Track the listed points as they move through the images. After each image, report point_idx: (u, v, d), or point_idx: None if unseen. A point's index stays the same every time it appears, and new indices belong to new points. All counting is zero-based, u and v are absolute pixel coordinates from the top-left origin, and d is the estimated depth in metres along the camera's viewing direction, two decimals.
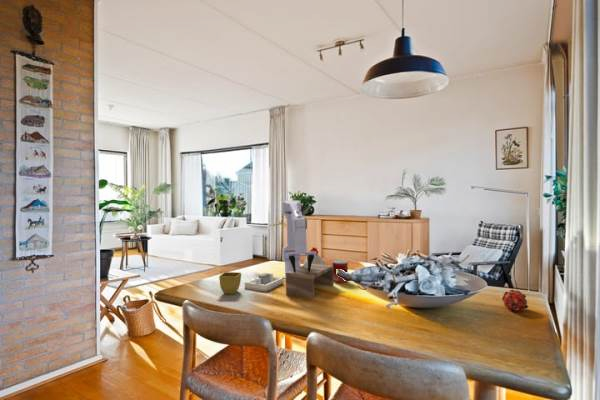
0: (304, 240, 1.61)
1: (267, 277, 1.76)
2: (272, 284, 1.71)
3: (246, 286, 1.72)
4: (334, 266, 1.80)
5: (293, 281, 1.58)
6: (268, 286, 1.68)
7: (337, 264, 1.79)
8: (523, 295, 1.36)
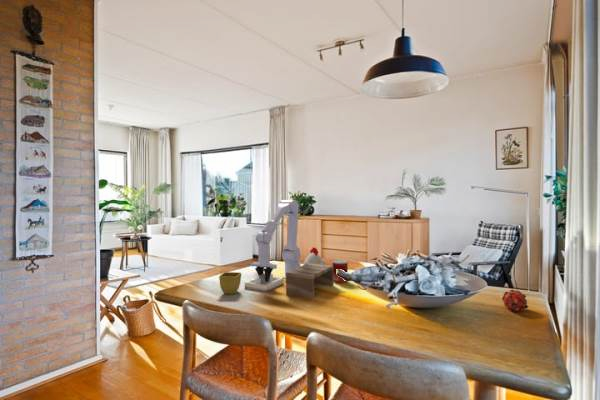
0: (262, 254, 1.73)
1: None
2: (272, 284, 1.71)
3: (246, 286, 1.72)
4: (334, 266, 1.80)
5: (293, 281, 1.58)
6: (268, 286, 1.68)
7: (337, 264, 1.79)
8: (523, 295, 1.36)
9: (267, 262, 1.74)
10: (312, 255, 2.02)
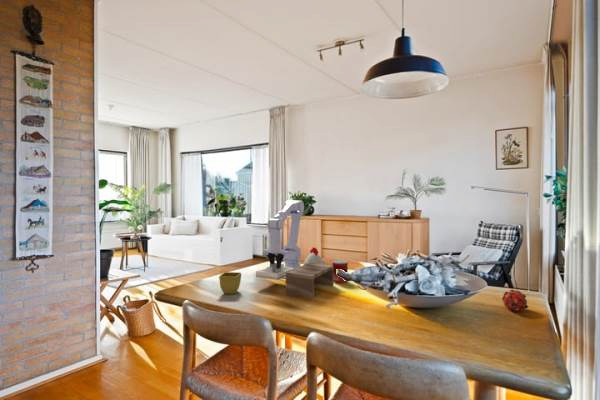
0: (275, 240, 1.72)
1: None
2: (283, 273, 1.70)
3: (257, 275, 1.71)
4: (334, 266, 1.80)
5: (293, 281, 1.58)
6: (279, 274, 1.67)
7: (337, 264, 1.79)
8: (523, 295, 1.36)
9: (278, 249, 1.73)
10: (312, 255, 2.02)
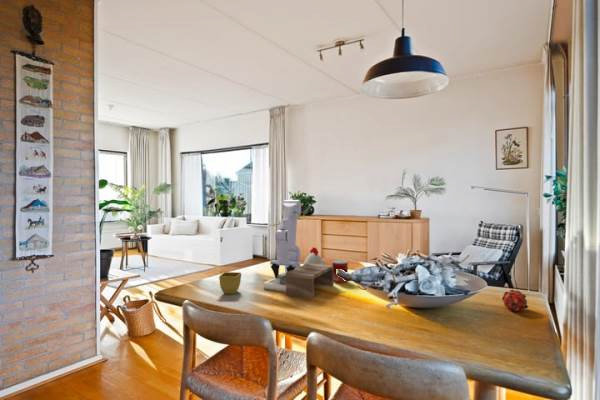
0: (284, 252, 1.72)
1: (285, 277, 1.75)
2: None
3: (265, 286, 1.71)
4: (334, 266, 1.80)
5: (293, 281, 1.58)
6: None
7: (337, 264, 1.79)
8: (523, 295, 1.36)
9: (286, 260, 1.73)
10: (312, 255, 2.02)
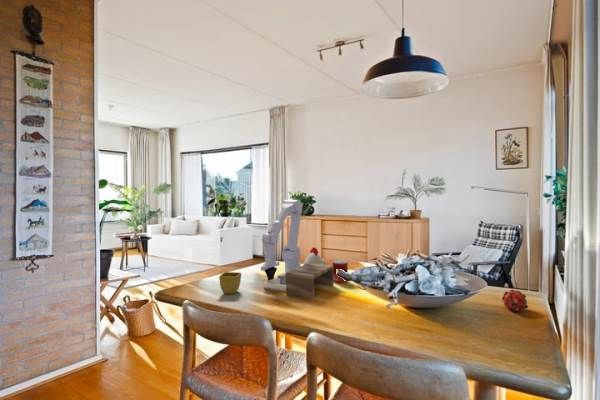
0: (269, 255, 1.76)
1: (285, 277, 1.75)
2: None
3: (265, 286, 1.71)
4: (334, 266, 1.80)
5: (293, 281, 1.58)
6: None
7: (337, 264, 1.79)
8: (523, 295, 1.36)
9: (266, 263, 1.77)
10: (312, 255, 2.02)
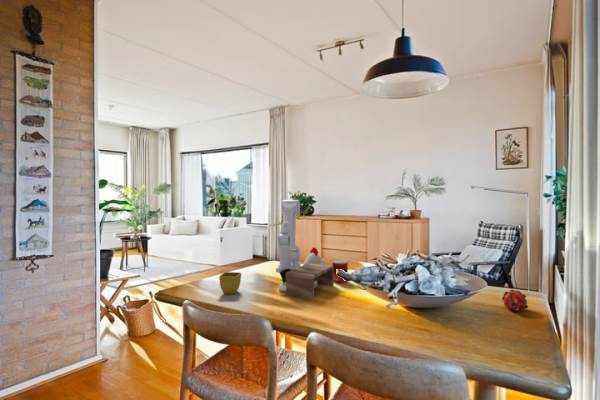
0: (287, 256, 1.72)
1: None
2: None
3: (280, 289, 1.66)
4: (334, 266, 1.80)
5: (293, 281, 1.58)
6: None
7: (337, 264, 1.79)
8: (523, 295, 1.36)
9: (281, 264, 1.72)
10: (312, 255, 2.02)
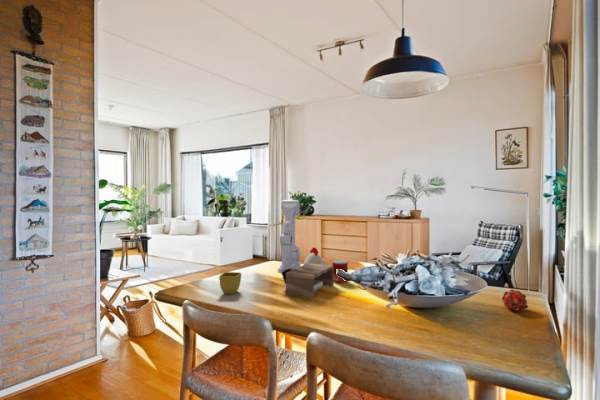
0: (289, 256, 1.71)
1: None
2: None
3: None
4: (334, 266, 1.80)
5: (293, 281, 1.58)
6: None
7: (337, 264, 1.79)
8: (523, 295, 1.36)
9: (283, 265, 1.72)
10: (312, 255, 2.02)
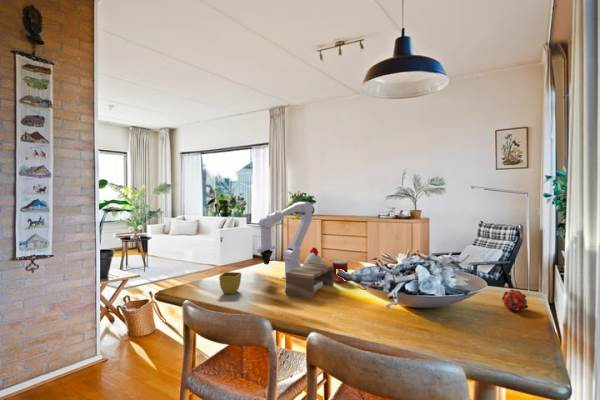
0: (263, 238, 1.82)
1: None
2: None
3: None
4: (334, 266, 1.80)
5: (293, 281, 1.58)
6: None
7: (337, 264, 1.79)
8: (523, 295, 1.36)
9: (262, 246, 1.83)
10: (312, 255, 2.02)
